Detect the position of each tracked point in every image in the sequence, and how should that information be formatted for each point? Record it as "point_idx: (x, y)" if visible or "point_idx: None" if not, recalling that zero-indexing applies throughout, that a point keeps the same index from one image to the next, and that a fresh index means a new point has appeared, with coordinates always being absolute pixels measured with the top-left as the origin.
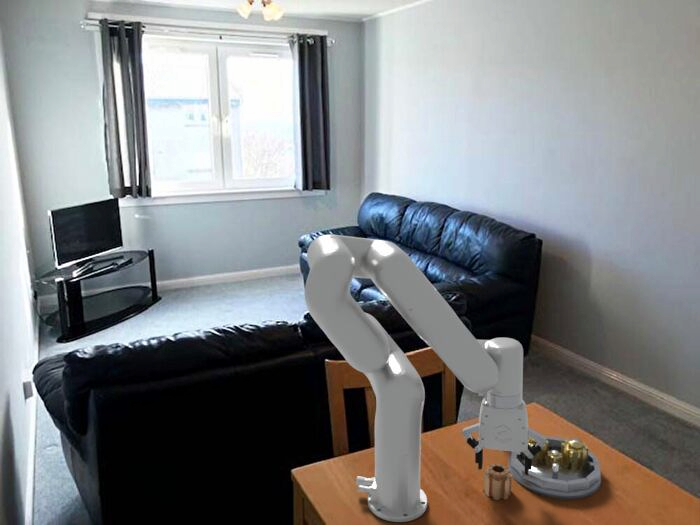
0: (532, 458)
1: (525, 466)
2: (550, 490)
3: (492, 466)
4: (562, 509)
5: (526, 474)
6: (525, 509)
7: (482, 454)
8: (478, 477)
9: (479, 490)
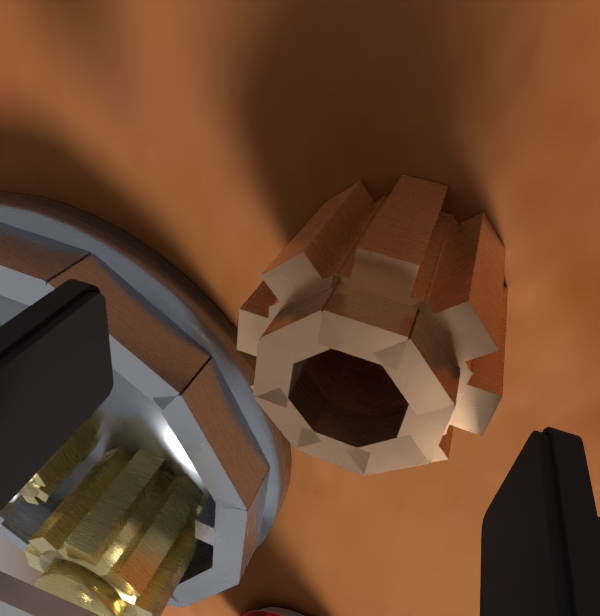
0: (142, 482)
1: (26, 339)
2: (52, 235)
3: (397, 444)
4: (8, 93)
5: (81, 284)
6: (216, 66)
7: (495, 608)
8: (499, 423)
9: (539, 294)
